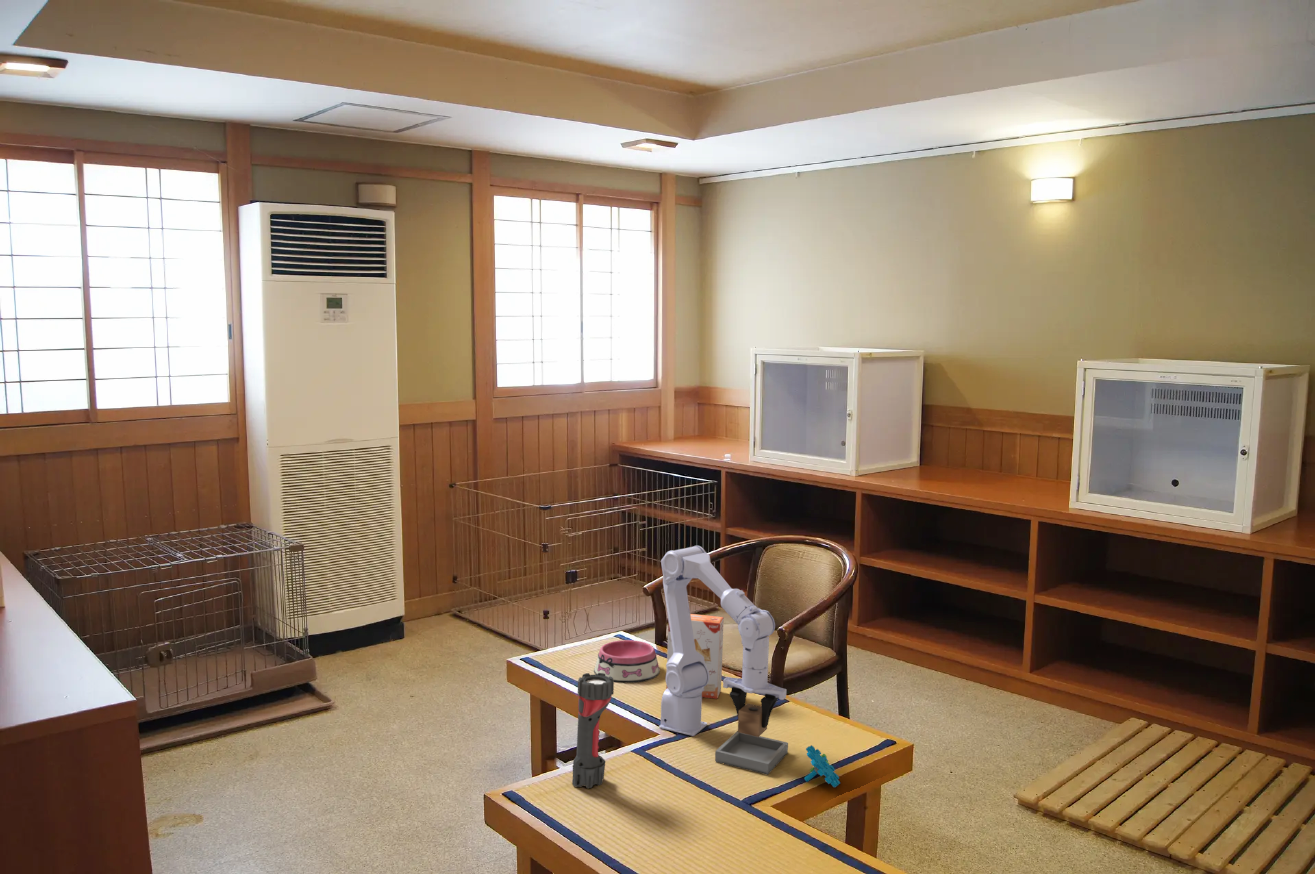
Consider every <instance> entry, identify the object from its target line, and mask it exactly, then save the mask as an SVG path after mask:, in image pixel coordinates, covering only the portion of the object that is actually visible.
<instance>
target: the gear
mask: <svg viewBox="0 0 1315 874" xmlns="http://www.w3.org/2000/svg"><path fill="white" fill-rule="evenodd" d="M805 751H807V753H806V756H807V758H809V759H810V764H811V765H812V768H810V770H809V772H810V773H808V774H807V775H806V776H805V777H804V780H805V782H806V783H807V782H809V781H810V780H812V779H813V778H815V776H817V775H819V776H820V777H822V776H824V780H825V782H826V783H827V784H828V785H829V784H830V785H831V786H832V787H833V788H836V787H838V786H839V785H841V782H840V780H839V779H840V777H839V775H838V774H837V773H836V772H835V771H836V770H835V768H834V766H833V765H831V764H830V763H829V760H828V757H827V755H826V754H825V753H822V752H821V751H820V750H819V748H815V747H814V745H812V744H811V745H810V746H807V747H806V748H805Z"/></svg>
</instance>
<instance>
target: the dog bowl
mask: <svg viewBox="0 0 1315 874" xmlns="http://www.w3.org/2000/svg"><path fill="white" fill-rule="evenodd" d="M660 672H661V671H660V665H659V661H658V658H657V652H656V650H655V647H653V646H652V645H651V644H650V643H647V642H644V641H640V640H634V639H633V640H631V639H625V640H624V639H621V640H615V641H611V642H606V643H605V644H603V645H602V646H601V647H600V648H599V652H598V653H597V659H596V662H595V666H594V669H593V673H594V675H597V674H598V673H604V674H605V676H607V677H610V676H611V677H613V679H614V683H621V684H632V683H633V684H634V683H635V684H636V683H644V682H647V681H650V680H653V679H654V678H657V677H658V676H659V674H660Z"/></svg>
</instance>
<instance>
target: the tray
mask: <svg viewBox="0 0 1315 874" xmlns="http://www.w3.org/2000/svg"><path fill="white" fill-rule="evenodd" d="M788 752H789V742H786V741H784V740H783V741H782V740H779V739H774V738H769V737H765V736H762V735H760V736H759V737H756V736H752V735H748V734H744V733H740V732H738V730H737V731H736V732H734V733H733V734H732V735H731V736H730V737H728V739H726V741H725V742H724V743H722V744H721V745H720V746H719V747H718V748H717V749H716V750H715V754H714V757H715V758H714V762H715V761H716V763H718V762H719V764H722V763H724V764H723V765H727V766H731V767H734V768H739V769H742V770H746V771H749V772H750V771H751V772H755V773H757V774H763V775H766V776H768V775H769V774H770V773H771V772H772V771H773V770H774V768H776V767H777V765H778V764H779V763H780V762H781V761H782V760H783V759H784V758H785V757H786V755H787V754H788Z"/></svg>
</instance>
